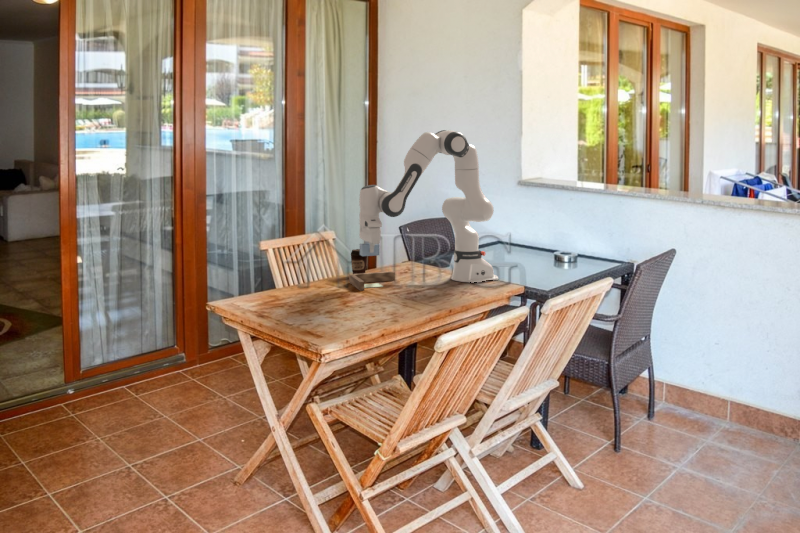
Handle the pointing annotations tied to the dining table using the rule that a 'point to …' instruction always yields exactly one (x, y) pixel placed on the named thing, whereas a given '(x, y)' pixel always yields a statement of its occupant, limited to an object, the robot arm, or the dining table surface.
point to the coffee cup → (358, 262)
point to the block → (365, 250)
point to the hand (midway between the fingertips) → (369, 251)
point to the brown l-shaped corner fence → (370, 279)
